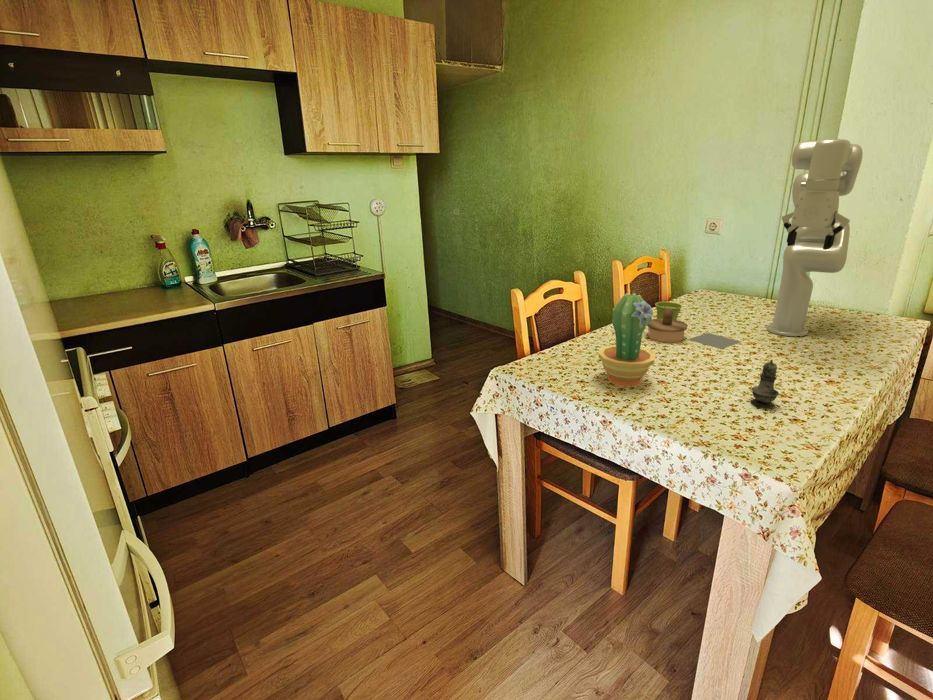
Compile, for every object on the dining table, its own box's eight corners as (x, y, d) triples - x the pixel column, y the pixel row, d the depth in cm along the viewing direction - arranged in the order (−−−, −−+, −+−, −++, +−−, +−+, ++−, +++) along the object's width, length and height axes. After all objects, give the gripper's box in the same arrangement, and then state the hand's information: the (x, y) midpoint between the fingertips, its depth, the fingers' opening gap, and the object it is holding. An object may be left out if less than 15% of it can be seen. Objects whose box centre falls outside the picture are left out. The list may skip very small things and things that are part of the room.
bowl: (661, 333, 176) (662, 319, 174) (688, 340, 167) (690, 327, 165) (641, 338, 170) (643, 325, 169) (668, 347, 162) (670, 332, 160)
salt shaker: (744, 399, 124) (752, 355, 120) (765, 398, 124) (774, 354, 120) (758, 410, 118) (768, 364, 114) (781, 408, 119) (791, 363, 115)
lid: (662, 318, 175) (664, 303, 173) (695, 327, 165) (697, 310, 163) (638, 325, 169) (640, 309, 167) (671, 334, 158) (673, 317, 157)
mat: (707, 335, 172) (708, 332, 172) (741, 344, 162) (741, 341, 162) (687, 342, 166) (687, 339, 166) (720, 351, 156) (721, 348, 156)
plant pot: (674, 323, 186) (677, 301, 183) (682, 331, 178) (685, 308, 175) (649, 323, 187) (652, 301, 184) (656, 330, 178) (659, 308, 175)
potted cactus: (599, 390, 131) (606, 300, 122) (593, 368, 145) (599, 287, 137) (658, 392, 129) (670, 301, 120) (646, 370, 143) (656, 287, 135)
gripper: (782, 186, 143) (771, 245, 149) (851, 187, 129) (835, 251, 135) (795, 185, 146) (783, 243, 152) (863, 186, 133) (847, 249, 139)
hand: (808, 247), depth 144 cm, fingers open, 9 cm apart
